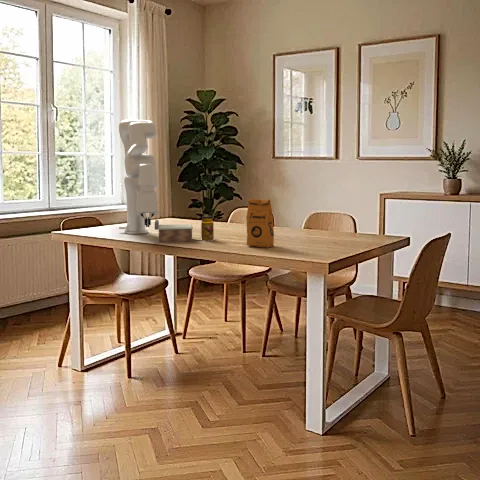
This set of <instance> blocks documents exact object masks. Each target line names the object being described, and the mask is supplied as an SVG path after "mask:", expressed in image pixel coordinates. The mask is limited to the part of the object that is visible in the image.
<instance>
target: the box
mask: <svg viewBox="0 0 480 480" xmlns="http://www.w3.org/2000/svg"><path fill="white" fill-rule="evenodd" d="M192 242H193V229H167V230H158V243H192Z"/></svg>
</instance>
